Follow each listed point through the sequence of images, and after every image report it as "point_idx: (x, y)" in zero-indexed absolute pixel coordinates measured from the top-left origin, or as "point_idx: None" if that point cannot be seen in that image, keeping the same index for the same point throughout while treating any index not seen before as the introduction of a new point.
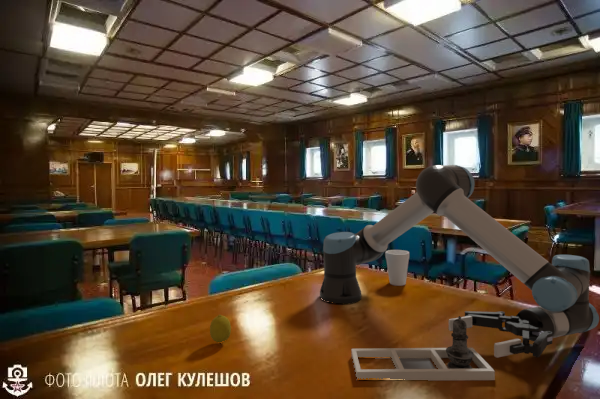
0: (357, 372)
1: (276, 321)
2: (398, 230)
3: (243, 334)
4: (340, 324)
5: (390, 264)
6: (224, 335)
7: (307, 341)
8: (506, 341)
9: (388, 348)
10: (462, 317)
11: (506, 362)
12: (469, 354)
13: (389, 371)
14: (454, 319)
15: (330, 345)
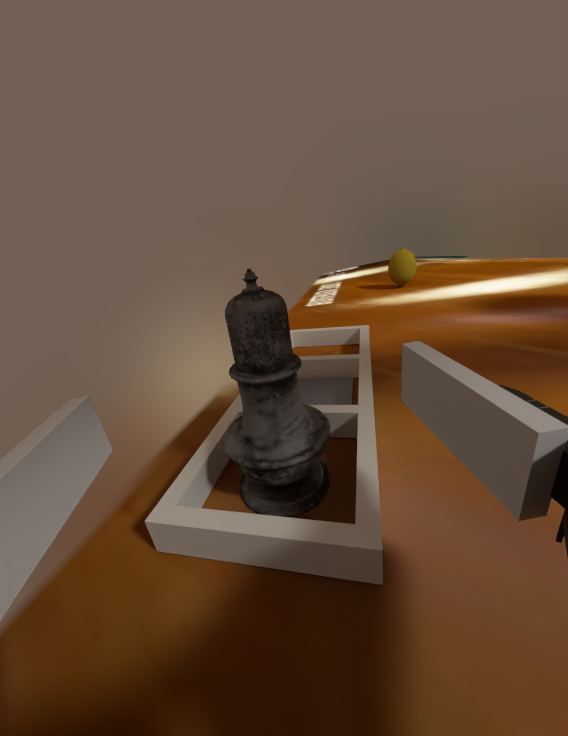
0: None
1: (504, 292)
2: None
3: (434, 288)
4: (548, 328)
5: None
6: (391, 273)
7: (426, 313)
8: (32, 442)
9: (369, 352)
10: (478, 381)
11: None
12: (236, 439)
13: None
14: (421, 353)
15: (414, 326)
